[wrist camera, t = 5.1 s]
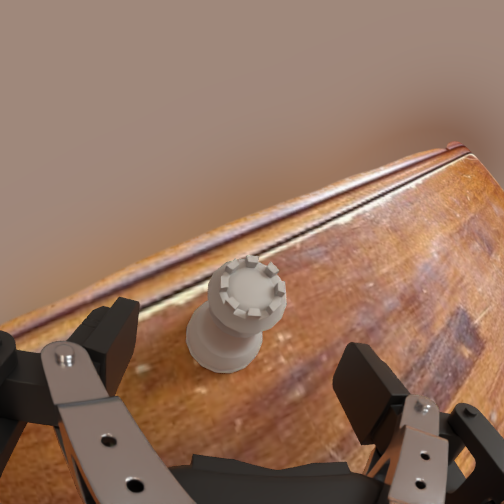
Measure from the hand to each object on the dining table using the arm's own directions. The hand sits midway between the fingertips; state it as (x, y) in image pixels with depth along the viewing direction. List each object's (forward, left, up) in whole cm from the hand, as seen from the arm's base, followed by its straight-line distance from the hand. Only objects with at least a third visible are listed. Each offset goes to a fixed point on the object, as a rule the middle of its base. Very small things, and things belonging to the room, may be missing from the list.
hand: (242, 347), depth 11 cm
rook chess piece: (0, +2, -8) cm, 8 cm away
